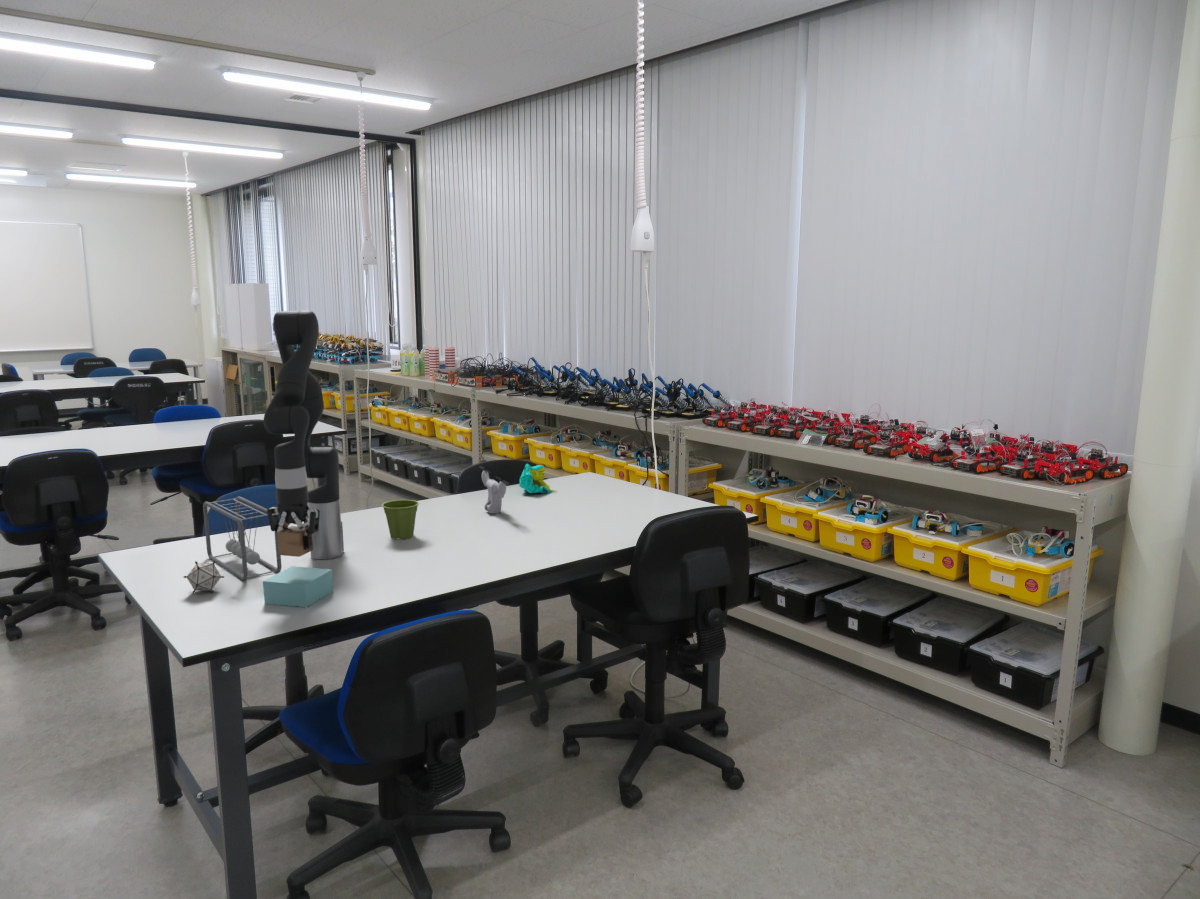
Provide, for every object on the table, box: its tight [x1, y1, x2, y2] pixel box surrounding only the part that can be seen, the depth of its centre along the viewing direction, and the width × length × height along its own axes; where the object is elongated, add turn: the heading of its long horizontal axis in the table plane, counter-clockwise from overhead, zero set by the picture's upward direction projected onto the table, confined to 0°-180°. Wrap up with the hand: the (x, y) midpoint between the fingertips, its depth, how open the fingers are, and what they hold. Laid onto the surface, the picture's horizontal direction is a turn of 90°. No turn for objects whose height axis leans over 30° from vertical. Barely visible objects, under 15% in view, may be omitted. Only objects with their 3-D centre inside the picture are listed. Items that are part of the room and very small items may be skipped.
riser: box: [262, 565, 334, 608], centre depth 206 cm, size 12×12×6 cm
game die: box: [183, 560, 225, 594], centre depth 210 cm, size 9×8×10 cm
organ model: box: [518, 463, 552, 494], centre depth 321 cm, size 15×12×13 cm
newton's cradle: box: [202, 495, 282, 581], centre depth 230 cm, size 30×10×18 cm, turn 44°
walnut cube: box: [277, 525, 313, 558], centre depth 204 cm, size 6×6×6 cm
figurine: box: [478, 465, 510, 515], centre depth 289 cm, size 35×6×15 cm, turn 25°
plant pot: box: [381, 499, 420, 541], centre depth 259 cm, size 12×12×11 cm
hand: (295, 547), depth 204 cm, fingers closed on walnut cube, 6 cm apart
